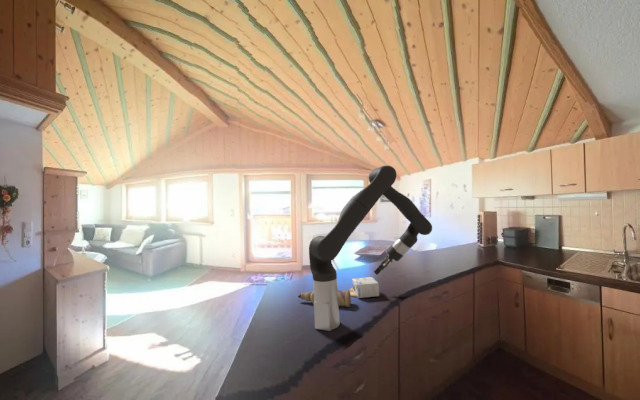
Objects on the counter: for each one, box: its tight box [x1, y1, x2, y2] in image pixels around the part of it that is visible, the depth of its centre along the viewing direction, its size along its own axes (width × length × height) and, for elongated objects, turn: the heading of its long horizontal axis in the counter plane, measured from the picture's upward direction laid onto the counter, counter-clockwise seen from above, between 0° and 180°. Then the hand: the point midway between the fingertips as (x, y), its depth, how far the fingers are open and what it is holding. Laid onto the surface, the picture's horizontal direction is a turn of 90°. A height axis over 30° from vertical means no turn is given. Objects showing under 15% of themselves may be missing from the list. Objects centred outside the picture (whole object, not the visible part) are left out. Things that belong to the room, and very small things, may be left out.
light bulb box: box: [351, 276, 380, 299], centre depth 119 cm, size 11×7×11 cm
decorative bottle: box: [297, 289, 352, 308], centre depth 111 cm, size 26×8×7 cm, turn 69°
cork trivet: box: [348, 287, 358, 298], centre depth 122 cm, size 12×10×1 cm
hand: (375, 273), depth 122 cm, fingers closed
